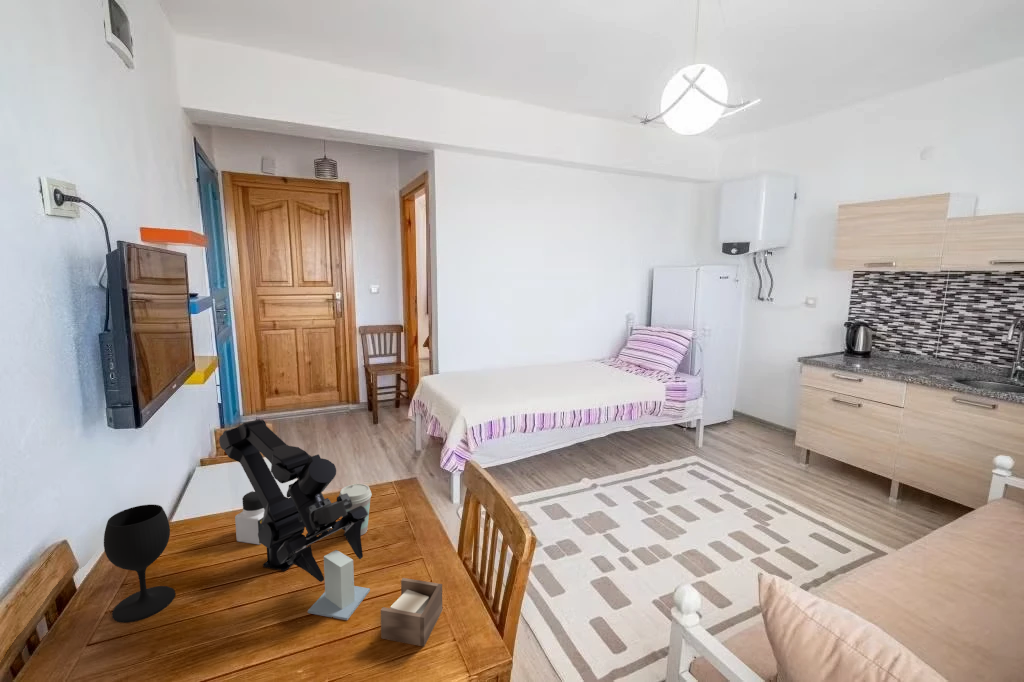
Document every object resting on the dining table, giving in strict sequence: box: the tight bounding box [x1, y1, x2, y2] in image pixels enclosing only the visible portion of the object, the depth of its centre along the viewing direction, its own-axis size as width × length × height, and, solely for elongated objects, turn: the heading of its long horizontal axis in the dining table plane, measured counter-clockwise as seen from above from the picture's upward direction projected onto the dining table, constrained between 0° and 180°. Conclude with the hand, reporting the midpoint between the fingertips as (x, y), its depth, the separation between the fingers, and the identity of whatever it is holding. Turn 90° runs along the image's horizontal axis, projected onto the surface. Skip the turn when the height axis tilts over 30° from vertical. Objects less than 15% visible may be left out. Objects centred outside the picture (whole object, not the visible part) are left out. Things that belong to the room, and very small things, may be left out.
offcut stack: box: [389, 589, 429, 614], centre depth 90 cm, size 6×6×4 cm
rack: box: [380, 577, 443, 647], centre depth 90 cm, size 9×10×6 cm
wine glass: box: [103, 504, 176, 624], centre depth 93 cm, size 10×10×20 cm
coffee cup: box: [338, 483, 373, 536], centre depth 122 cm, size 8×8×12 cm
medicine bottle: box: [234, 490, 265, 545], centre depth 119 cm, size 7×7×12 cm
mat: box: [307, 585, 371, 621], centre depth 96 cm, size 9×9×1 cm
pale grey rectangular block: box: [323, 549, 355, 609], centre depth 95 cm, size 6×3×10 cm, turn 55°
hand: (342, 569), depth 94 cm, fingers open, 9 cm apart
